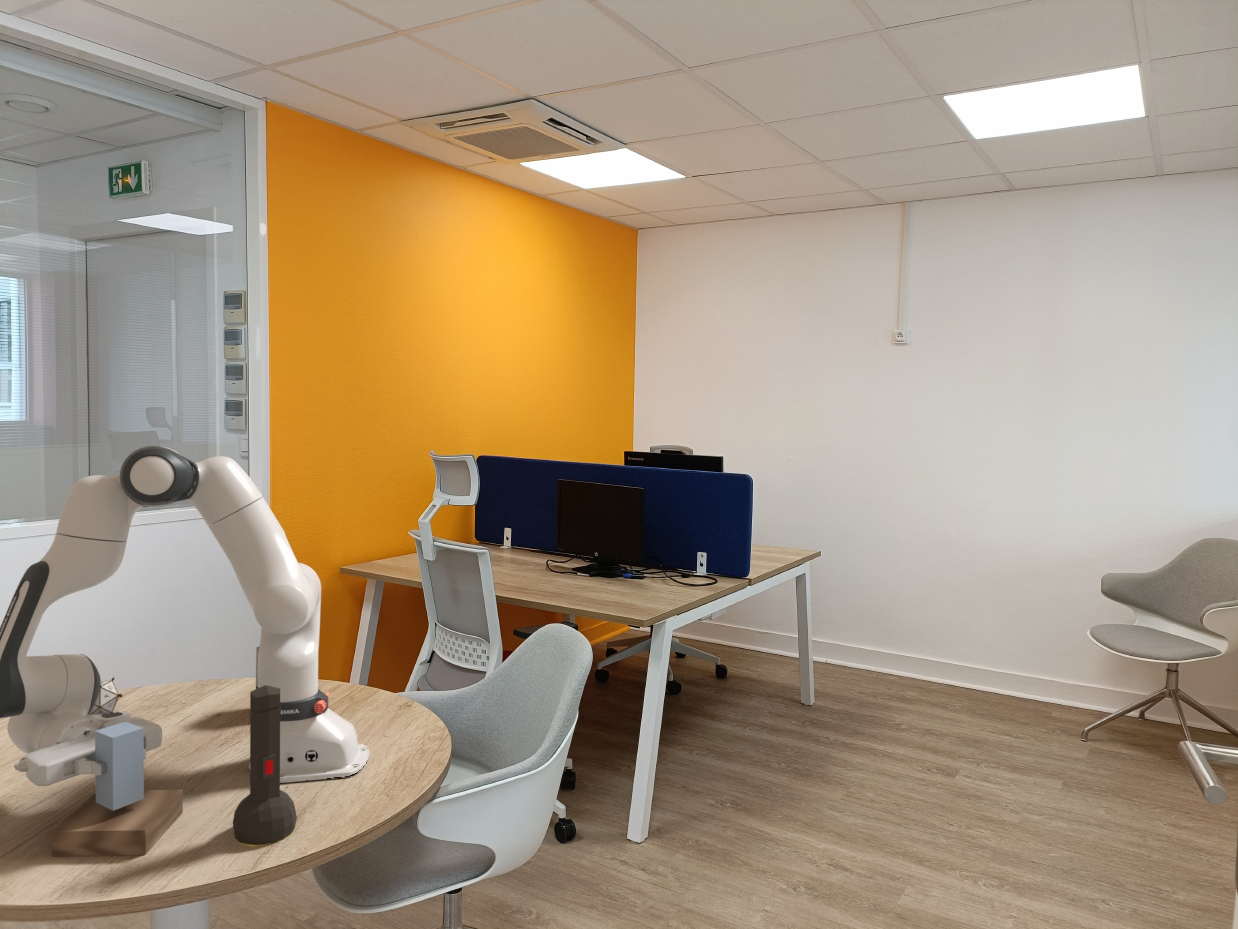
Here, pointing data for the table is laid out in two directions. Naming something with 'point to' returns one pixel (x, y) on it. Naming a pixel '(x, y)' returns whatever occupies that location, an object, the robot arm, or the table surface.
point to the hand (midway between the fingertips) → (122, 762)
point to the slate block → (120, 765)
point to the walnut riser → (117, 826)
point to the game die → (106, 698)
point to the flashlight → (264, 777)
